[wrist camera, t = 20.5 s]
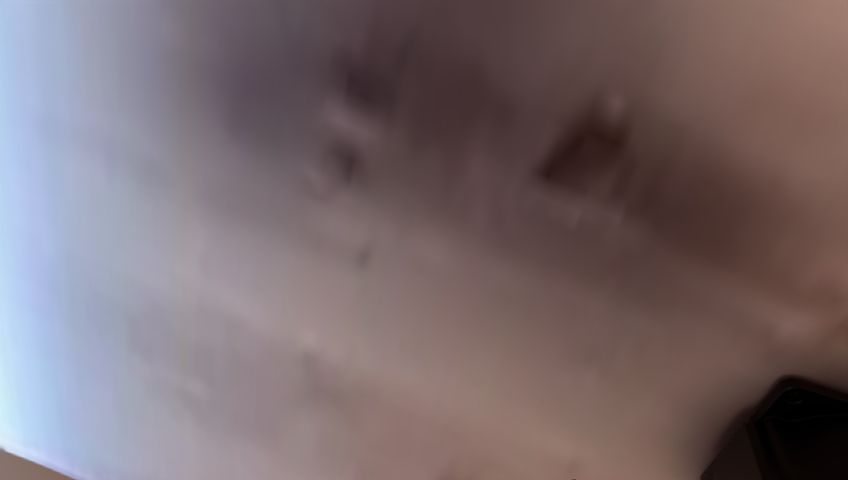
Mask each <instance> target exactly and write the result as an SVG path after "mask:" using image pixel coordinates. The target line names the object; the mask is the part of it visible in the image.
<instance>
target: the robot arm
mask: <svg viewBox="0 0 848 480" xmlns="http://www.w3.org/2000/svg"><path fill="white" fill-rule="evenodd" d="M793 392H797V393H796V394H792V395H789V394H790V393H793ZM573 480H574V479H573ZM701 480H848V394H845V393H842V392H839V391H835V390H832V389H829V388H826V387H822V386H819V385H816V384H813V383H810V382H806V381H803V380H800V379H794V378H792V379H786V380H783V381H781V382H780V383H779V384H777V385H776V387H775V388H774V389H773V390H772V392H771V393H770V394H769V395H768V397H767V398H766V399H765V400H764V402H763V403H762V404H761V405H760V407H759V408H758V409H757V410H756V411H755V413H754V414H753V415H752V416H751V418H750V419H749V420H748V421H747V422H746V423H745V424H743V425H742V427H741V428H740V429H739V430H738V432H737V433H736V434H735V435H734V437H733V438H732V439H731V440H730V442H729V443H728V444H727V445H726V447H725V448H724V449H723V450H722V452H721V453H720V454H719V455H718V457H717V458H716V459H715V460H714V462H713V463H712V466H711V467H710V469H709V470H708V471H707V472H706V474H705V475H704V476H703V477H702V479H701Z"/></svg>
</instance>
